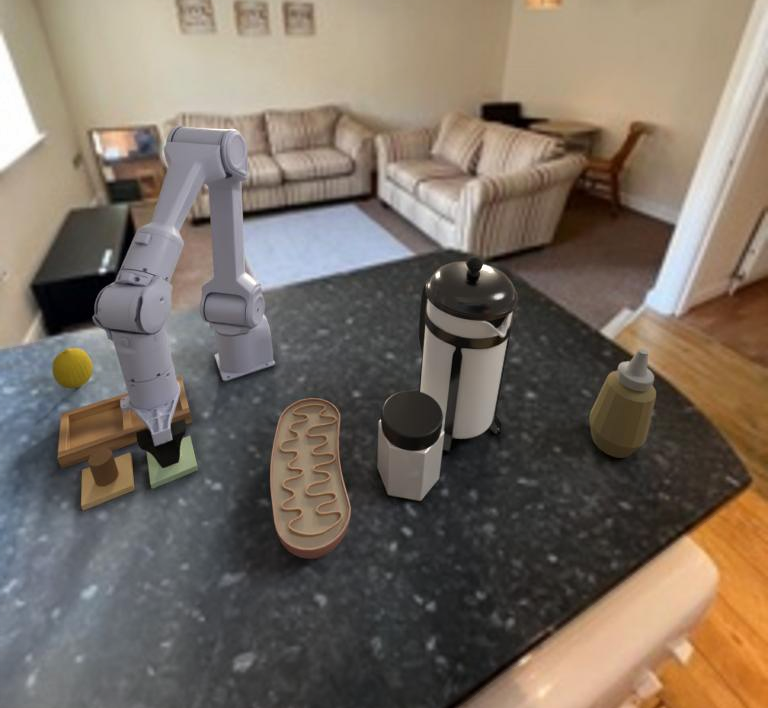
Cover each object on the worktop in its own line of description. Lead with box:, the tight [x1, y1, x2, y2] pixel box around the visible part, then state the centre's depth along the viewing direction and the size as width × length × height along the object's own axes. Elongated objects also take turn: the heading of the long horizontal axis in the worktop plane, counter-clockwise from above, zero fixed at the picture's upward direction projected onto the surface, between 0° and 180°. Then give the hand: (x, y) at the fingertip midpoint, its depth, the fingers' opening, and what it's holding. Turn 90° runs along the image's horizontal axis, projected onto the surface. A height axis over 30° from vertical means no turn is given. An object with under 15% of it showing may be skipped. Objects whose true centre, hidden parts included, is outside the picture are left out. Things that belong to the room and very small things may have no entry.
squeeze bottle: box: [588, 348, 657, 459], centre depth 66 cm, size 8×8×18 cm
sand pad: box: [80, 448, 136, 511], centre depth 61 cm, size 6×6×5 cm
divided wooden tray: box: [56, 376, 193, 470], centre depth 70 cm, size 9×17×2 cm, turn 120°
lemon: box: [51, 347, 94, 389], centre depth 76 cm, size 6×6×8 cm
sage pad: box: [146, 435, 199, 490], centre depth 64 cm, size 6×6×5 cm
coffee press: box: [418, 255, 519, 455], centre depth 68 cm, size 17×16×30 cm
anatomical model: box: [269, 397, 352, 560], centre depth 61 cm, size 23×10×5 cm, turn 10°
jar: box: [376, 389, 444, 502], centre depth 62 cm, size 9×8×12 cm
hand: (166, 442), depth 63 cm, fingers open, 7 cm apart
